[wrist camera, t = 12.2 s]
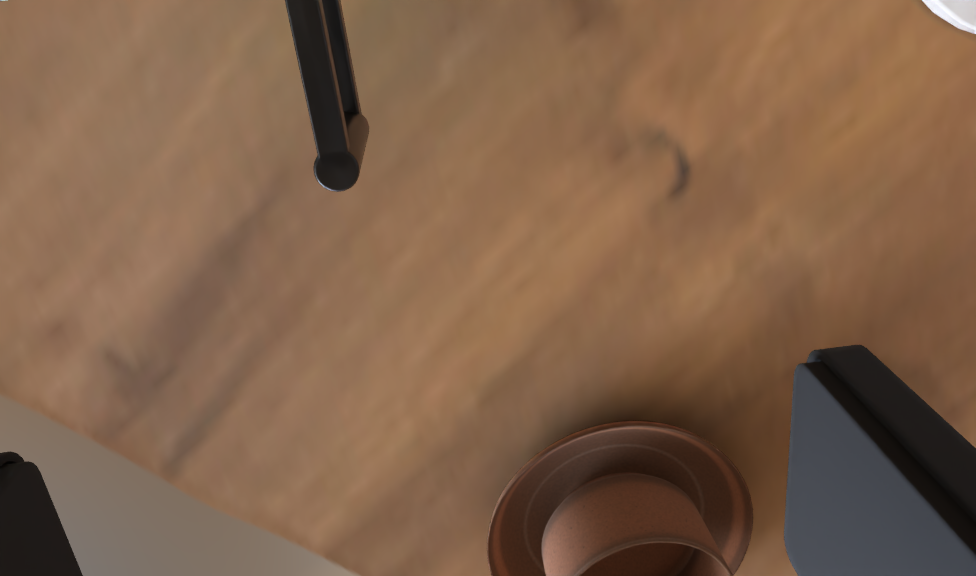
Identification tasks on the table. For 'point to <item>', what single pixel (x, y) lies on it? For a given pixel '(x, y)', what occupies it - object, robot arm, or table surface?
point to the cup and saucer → (623, 507)
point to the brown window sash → (329, 90)
